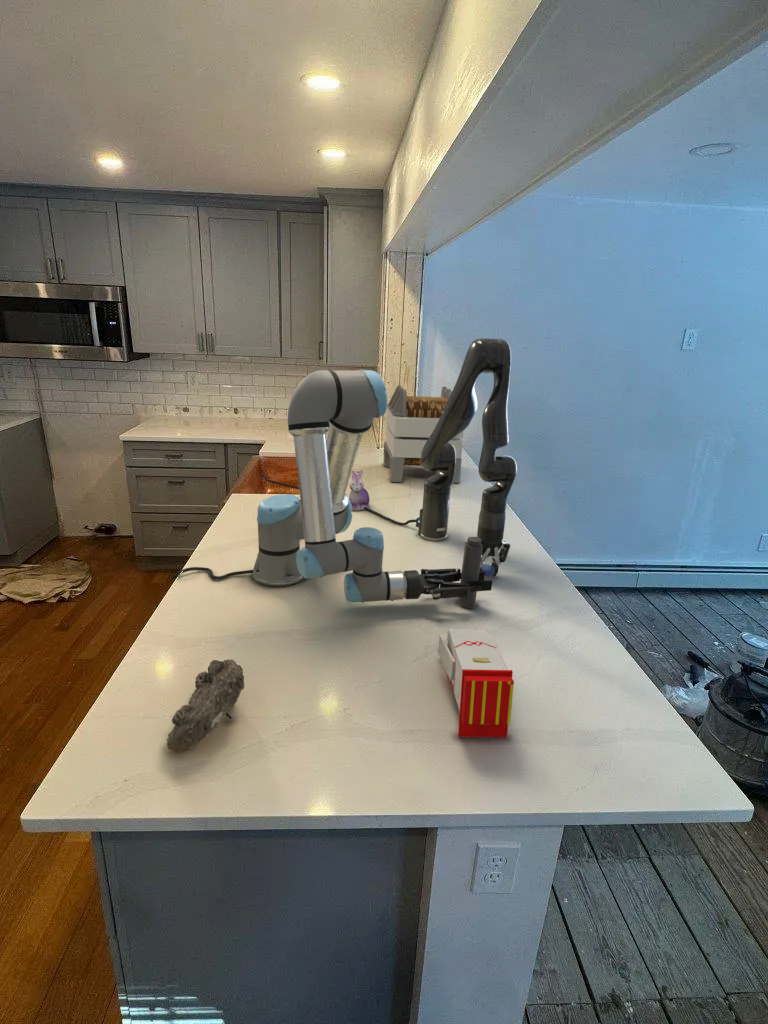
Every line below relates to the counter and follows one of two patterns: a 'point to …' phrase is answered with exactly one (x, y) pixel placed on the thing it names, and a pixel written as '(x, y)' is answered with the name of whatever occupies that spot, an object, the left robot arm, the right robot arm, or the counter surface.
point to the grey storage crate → (414, 431)
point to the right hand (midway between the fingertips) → (485, 576)
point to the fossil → (206, 705)
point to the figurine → (358, 492)
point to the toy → (478, 682)
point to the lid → (488, 569)
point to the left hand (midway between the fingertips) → (487, 580)
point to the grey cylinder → (470, 568)
